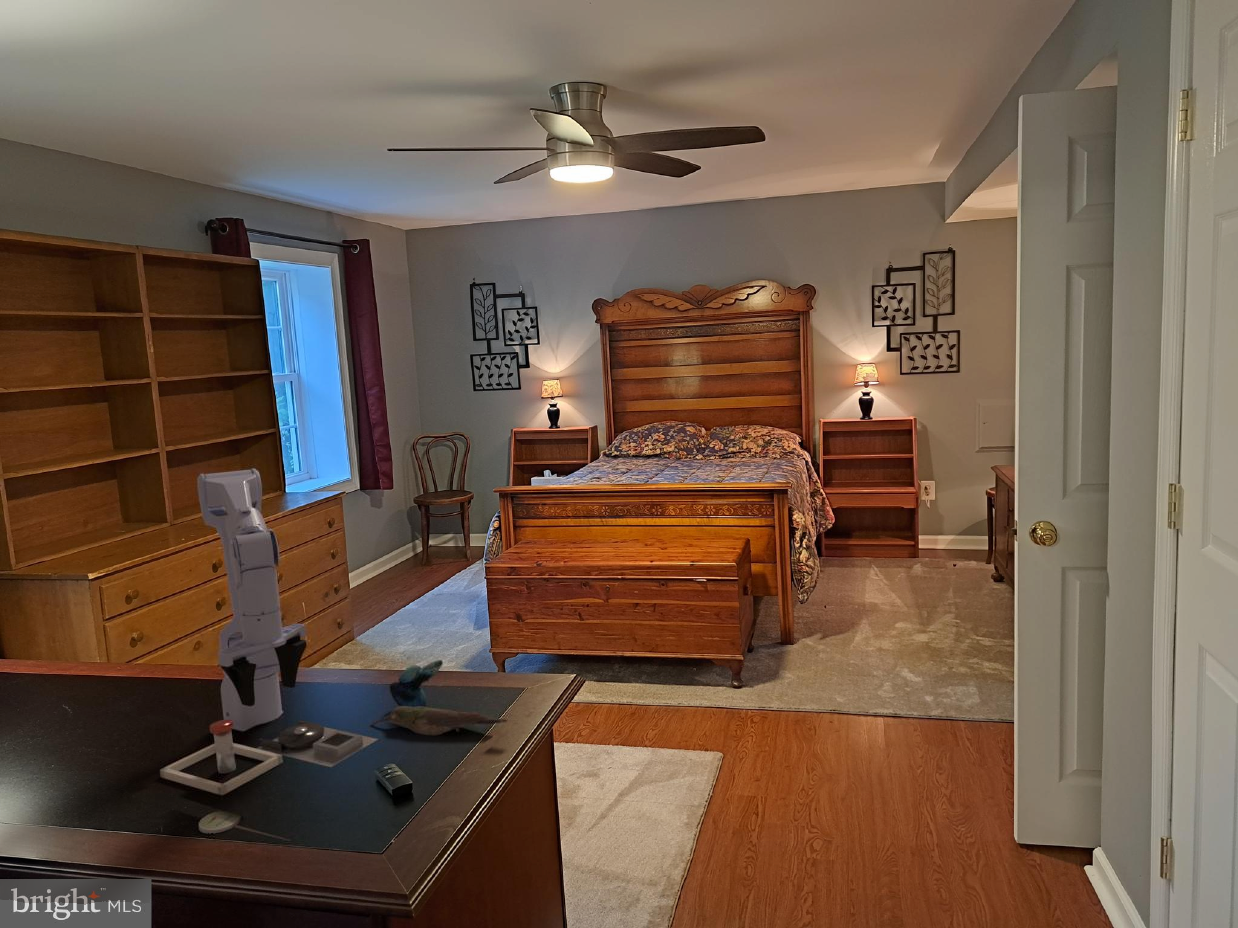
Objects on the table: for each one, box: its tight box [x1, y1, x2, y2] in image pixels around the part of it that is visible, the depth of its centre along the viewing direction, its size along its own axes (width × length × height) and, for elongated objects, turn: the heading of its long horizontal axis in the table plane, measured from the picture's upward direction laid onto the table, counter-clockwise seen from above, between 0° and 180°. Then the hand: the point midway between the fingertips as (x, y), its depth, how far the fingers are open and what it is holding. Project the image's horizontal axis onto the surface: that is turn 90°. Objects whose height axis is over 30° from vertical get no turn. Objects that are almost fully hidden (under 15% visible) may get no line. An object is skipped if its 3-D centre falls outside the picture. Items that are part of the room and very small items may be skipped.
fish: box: [389, 659, 444, 707], centre depth 149 cm, size 4×10×10 cm, turn 78°
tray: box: [159, 742, 284, 796], centre depth 131 cm, size 14×11×2 cm
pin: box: [209, 719, 237, 774], centre depth 130 cm, size 3×3×8 cm
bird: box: [368, 705, 508, 736], centre depth 141 cm, size 25×5×5 cm, turn 75°
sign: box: [198, 810, 291, 842], centre depth 116 cm, size 5×1×15 cm
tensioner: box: [255, 719, 379, 768], centre depth 138 cm, size 16×10×3 cm, turn 62°
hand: (269, 695), depth 135 cm, fingers open, 7 cm apart
